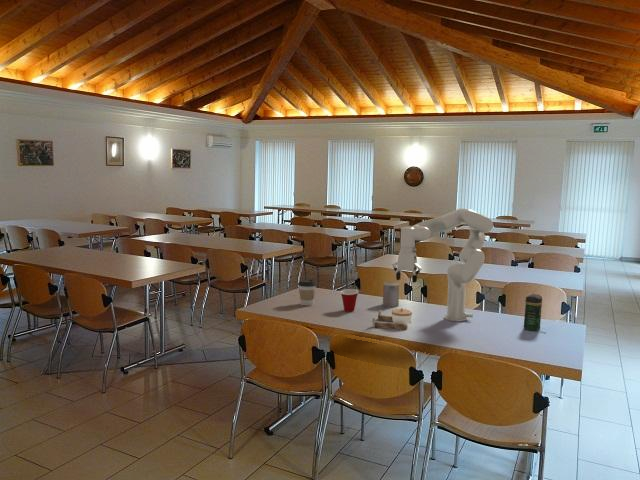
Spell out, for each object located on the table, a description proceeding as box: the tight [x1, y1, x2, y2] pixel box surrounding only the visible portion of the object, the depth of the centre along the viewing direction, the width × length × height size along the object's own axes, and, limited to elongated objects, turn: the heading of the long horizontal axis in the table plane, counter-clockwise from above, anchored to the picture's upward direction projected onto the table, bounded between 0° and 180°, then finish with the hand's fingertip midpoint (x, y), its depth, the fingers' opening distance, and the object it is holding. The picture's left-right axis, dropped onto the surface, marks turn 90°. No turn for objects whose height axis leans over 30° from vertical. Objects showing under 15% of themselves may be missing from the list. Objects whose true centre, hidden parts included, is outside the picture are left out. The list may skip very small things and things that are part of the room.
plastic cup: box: [339, 288, 359, 313], centre depth 327 cm, size 11×11×12 cm
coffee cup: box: [297, 278, 317, 306], centre depth 341 cm, size 11×11×15 cm
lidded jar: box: [391, 308, 413, 326], centre depth 298 cm, size 11×11×9 cm
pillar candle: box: [382, 281, 400, 308], centre depth 342 cm, size 10×10×15 cm
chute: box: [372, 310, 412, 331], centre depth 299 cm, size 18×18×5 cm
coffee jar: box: [523, 293, 543, 332], centre depth 294 cm, size 10×8×19 cm
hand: (406, 281), depth 302 cm, fingers open, 9 cm apart
